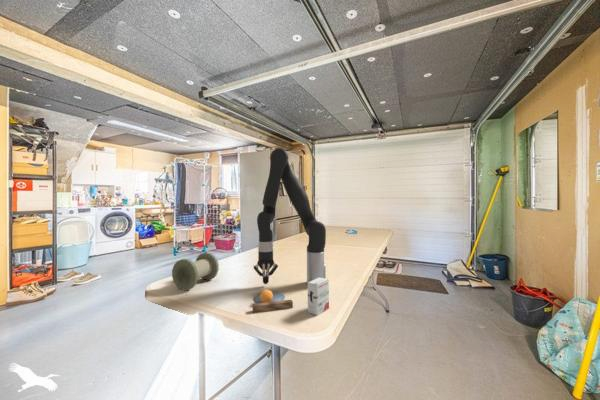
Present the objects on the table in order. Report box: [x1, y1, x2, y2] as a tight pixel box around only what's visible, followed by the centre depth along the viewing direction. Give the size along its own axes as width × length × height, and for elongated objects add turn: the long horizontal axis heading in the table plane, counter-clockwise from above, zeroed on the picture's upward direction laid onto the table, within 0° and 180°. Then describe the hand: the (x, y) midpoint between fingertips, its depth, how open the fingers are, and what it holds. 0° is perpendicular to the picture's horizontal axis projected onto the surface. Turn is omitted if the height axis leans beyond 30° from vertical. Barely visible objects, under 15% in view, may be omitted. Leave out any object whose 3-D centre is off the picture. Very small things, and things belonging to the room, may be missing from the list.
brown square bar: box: [252, 299, 294, 314], centre depth 89 cm, size 16×2×2 cm, turn 105°
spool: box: [171, 252, 220, 291], centre depth 117 cm, size 16×15×15 cm
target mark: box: [253, 290, 286, 304], centre depth 100 cm, size 14×14×1 cm
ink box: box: [307, 277, 330, 316], centre depth 89 cm, size 8×5×12 cm, turn 140°
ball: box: [260, 289, 273, 303], centre depth 95 cm, size 6×6×6 cm
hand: (265, 283), depth 114 cm, fingers closed
